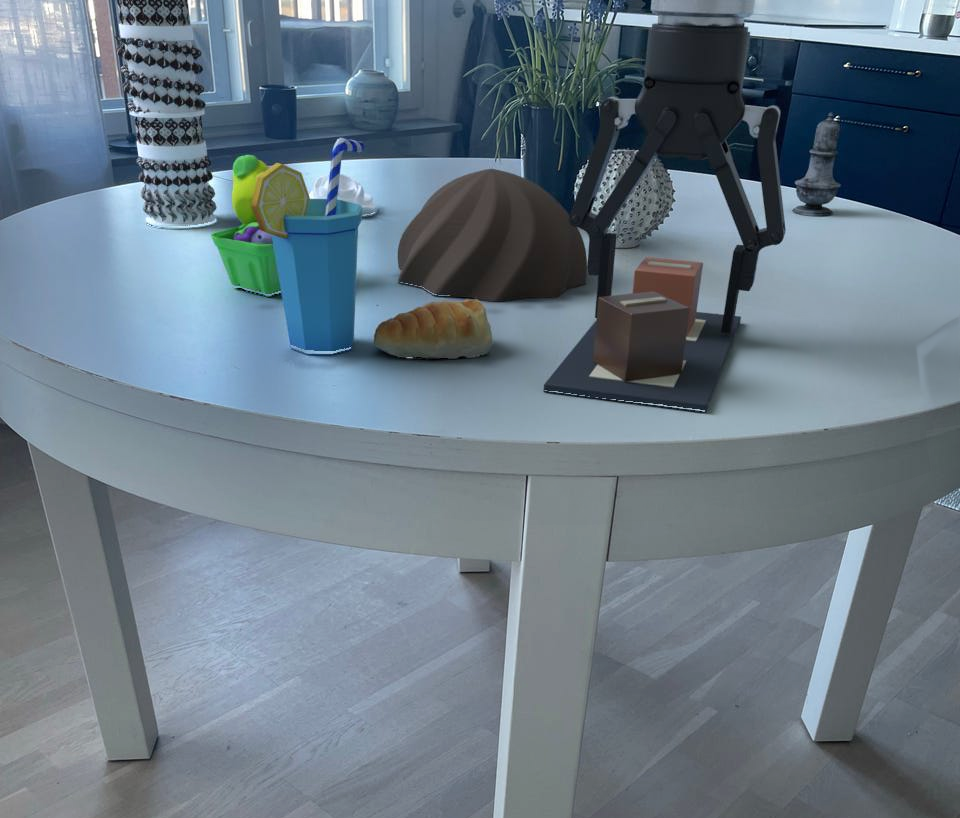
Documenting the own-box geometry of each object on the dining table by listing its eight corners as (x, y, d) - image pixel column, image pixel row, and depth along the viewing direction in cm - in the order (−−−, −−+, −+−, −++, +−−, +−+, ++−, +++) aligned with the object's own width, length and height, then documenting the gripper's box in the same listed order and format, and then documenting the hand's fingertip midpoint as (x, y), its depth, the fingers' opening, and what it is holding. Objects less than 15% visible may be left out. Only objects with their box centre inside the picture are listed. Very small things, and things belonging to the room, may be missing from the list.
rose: (331, 165, 133) (392, 173, 129) (333, 201, 135) (393, 210, 131) (282, 175, 126) (345, 184, 122) (285, 213, 128) (347, 223, 124)
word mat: (705, 413, 72) (706, 403, 72) (543, 392, 75) (543, 383, 75) (740, 323, 92) (741, 315, 91) (609, 309, 95) (610, 301, 94)
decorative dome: (373, 259, 109) (369, 157, 103) (544, 249, 115) (549, 151, 109) (424, 307, 94) (423, 190, 88) (618, 292, 99) (629, 182, 94)
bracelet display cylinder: (126, 225, 120) (85, -26, 107) (169, 211, 128) (137, -26, 114) (193, 232, 118) (161, -24, 104) (234, 217, 125) (208, -24, 112)
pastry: (387, 368, 79) (385, 318, 77) (364, 343, 84) (362, 296, 82) (498, 356, 82) (500, 308, 80) (469, 333, 87) (470, 288, 85)
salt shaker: (822, 218, 133) (842, 115, 126) (781, 211, 136) (799, 111, 129) (842, 212, 136) (863, 112, 130) (803, 206, 139) (820, 108, 133)
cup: (328, 315, 91) (317, 129, 83) (406, 326, 89) (403, 136, 80) (241, 360, 80) (218, 151, 72) (327, 374, 78) (313, 160, 70)
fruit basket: (267, 303, 94) (255, 170, 88) (204, 286, 98) (188, 158, 92) (352, 279, 102) (346, 156, 95) (290, 265, 106) (281, 146, 100)
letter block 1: (695, 321, 89) (703, 260, 86) (686, 337, 85) (695, 274, 83) (639, 315, 91) (645, 255, 88) (628, 330, 87) (634, 268, 84)
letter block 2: (681, 374, 77) (690, 305, 74) (625, 382, 76) (632, 312, 73) (647, 354, 81) (654, 289, 78) (592, 361, 79) (598, 294, 77)
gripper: (860, 25, 76) (801, 324, 88) (564, 14, 81) (548, 296, 94) (859, 29, 70) (796, 349, 82) (540, 16, 75) (525, 318, 88)
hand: (663, 321), depth 88 cm, fingers open, 10 cm apart
